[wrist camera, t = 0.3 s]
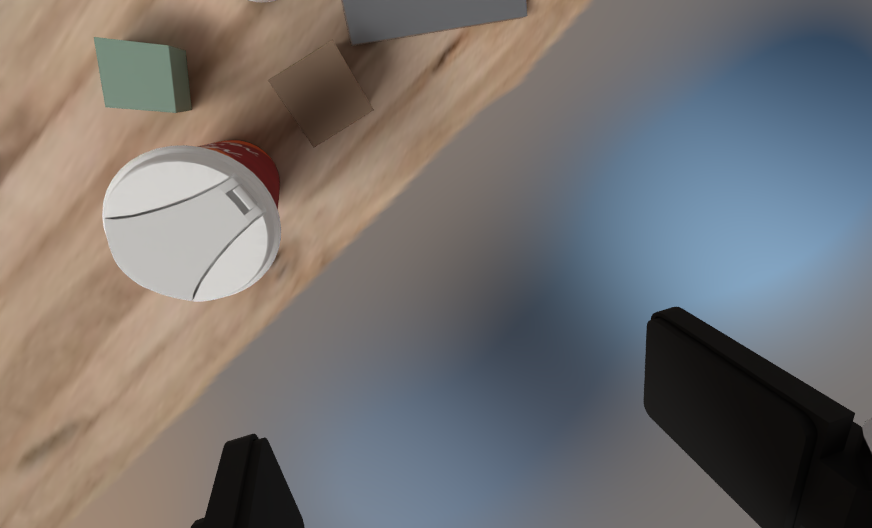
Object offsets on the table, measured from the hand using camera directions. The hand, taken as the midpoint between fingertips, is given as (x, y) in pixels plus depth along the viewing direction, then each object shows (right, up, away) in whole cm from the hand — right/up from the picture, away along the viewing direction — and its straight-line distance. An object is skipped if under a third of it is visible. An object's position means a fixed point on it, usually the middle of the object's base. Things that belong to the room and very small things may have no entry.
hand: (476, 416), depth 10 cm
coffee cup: (-17, +10, +24) cm, 31 cm away
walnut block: (-10, +17, +24) cm, 31 cm away
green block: (-21, +17, +21) cm, 34 cm away
